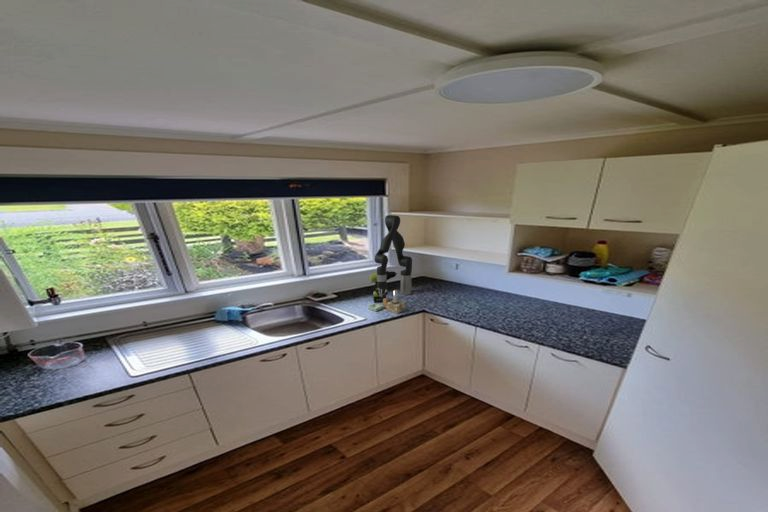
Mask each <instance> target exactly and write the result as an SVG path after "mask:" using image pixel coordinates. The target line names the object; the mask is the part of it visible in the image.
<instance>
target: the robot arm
mask: <svg viewBox="0 0 768 512" xmlns="http://www.w3.org/2000/svg"><path fill="white" fill-rule="evenodd" d="M400 223H401V217H400V216H399V215H393V214H388V215H386V216H385V217H384V224H385V227H386V229H387V231H388V233H387V234H386V235H385V236H384V237H383V239H382V241H381V243H380V248H378V251H377V252H376V253H375V255H374V262H375V263H376V264H381V266H377V268H376V273H377V288H376V289H375V288H374V292H375V291H376V293H377V294H378V295H379V296H380V301H383V299H384V296H386V297H387V295H388V294H389V293H390V291H389V290H387V283H388V282H387V281H388V280H387V281H386V271H387V267H388V263H389V258H388V255H386V254H387V253H388V252H389V251H390V249H391V245H392V244H393V247H394V250H395V253H396V257H397V262H398V266H400V267H403V268H405V269H402V270H400V294H401V295H404V296H408V295H410V294H412V292H413V291H412V289H413V288H412V287H413V286H412V285H413V283H412V271H413V259H412V257H411V256H407V255H404V253H403V251H404V248H405V245H406V243H405V241H404V237H403V235H402V234H401V233H400V232H399V231H398V229H399V227H400V225H401V224H400Z"/></svg>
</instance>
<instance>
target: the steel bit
mask: <svg viewBox="0 0 768 512" xmlns="http://www.w3.org/2000/svg"><path fill="white" fill-rule="evenodd" d="M392 291H393V292H392V293H393V294H392V297H393V299H392V300H393V304H398V301H399V297H398V296H399V295H398V289H393V290H392Z"/></svg>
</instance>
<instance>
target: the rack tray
mask: <svg viewBox="0 0 768 512" xmlns="http://www.w3.org/2000/svg"><path fill="white" fill-rule="evenodd" d="M383 308H384V307H383V304H379V303H372V304H370V305H368V306H367V310H369V311H373V312H379V311H381V310H383Z"/></svg>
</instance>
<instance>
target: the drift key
mask: <svg viewBox="0 0 768 512" xmlns="http://www.w3.org/2000/svg"><path fill="white" fill-rule="evenodd" d="M388 302H389V298H388V297H386V298H384V299H383V302H382V305H383V308H385V309H386V303H388Z"/></svg>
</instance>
